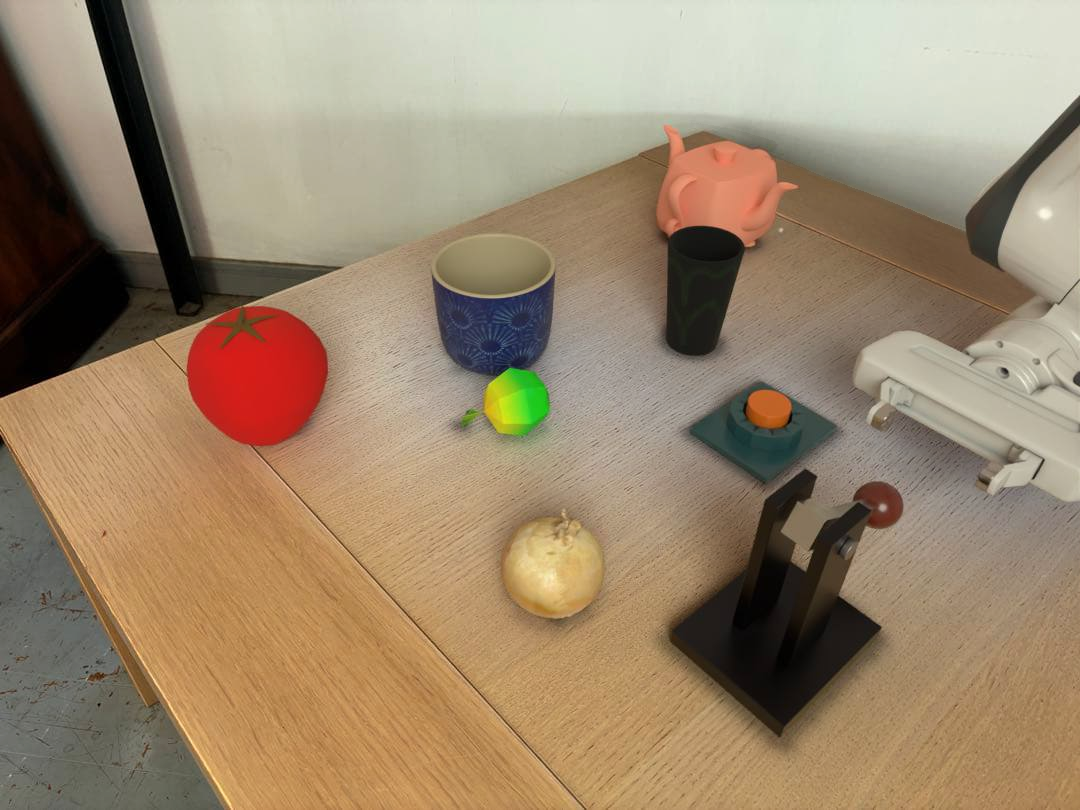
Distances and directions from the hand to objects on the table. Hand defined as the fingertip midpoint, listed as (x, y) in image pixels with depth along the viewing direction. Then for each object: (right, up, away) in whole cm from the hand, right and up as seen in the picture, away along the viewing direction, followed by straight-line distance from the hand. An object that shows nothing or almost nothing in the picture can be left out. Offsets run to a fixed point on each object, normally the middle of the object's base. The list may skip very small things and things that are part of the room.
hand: (927, 451), depth 65 cm
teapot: (-8, +25, +43) cm, 50 cm away
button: (-9, +3, +13) cm, 16 cm away
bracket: (-13, -14, -3) cm, 19 cm away
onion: (-30, -11, 0) cm, 32 cm away
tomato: (-56, +2, +15) cm, 58 cm away
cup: (-14, +11, +26) cm, 31 cm away
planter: (-35, +9, +24) cm, 44 cm away
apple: (-34, +1, +15) cm, 37 cm away
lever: (-9, -6, -6) cm, 13 cm away
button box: (-9, +1, +14) cm, 17 cm away
